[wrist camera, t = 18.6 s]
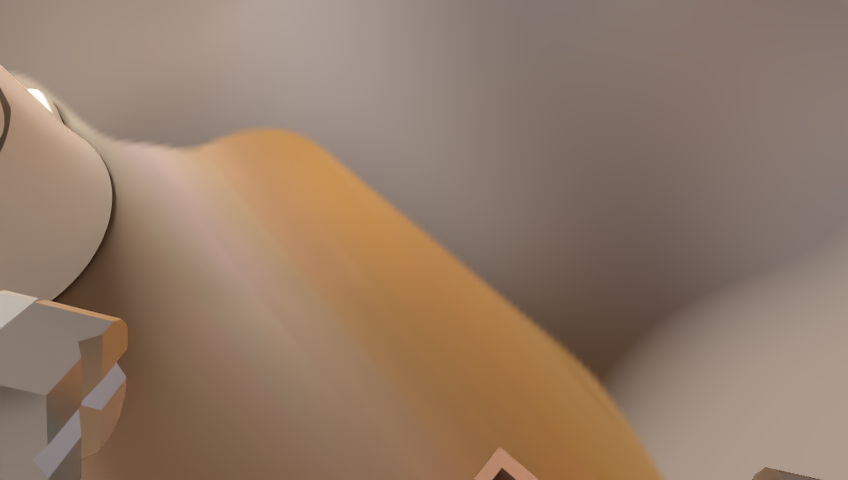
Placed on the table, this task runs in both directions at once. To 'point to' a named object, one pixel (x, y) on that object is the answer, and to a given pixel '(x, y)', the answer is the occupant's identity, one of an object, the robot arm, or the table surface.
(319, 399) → the table surface
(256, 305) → the table surface
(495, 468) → the pen cup
